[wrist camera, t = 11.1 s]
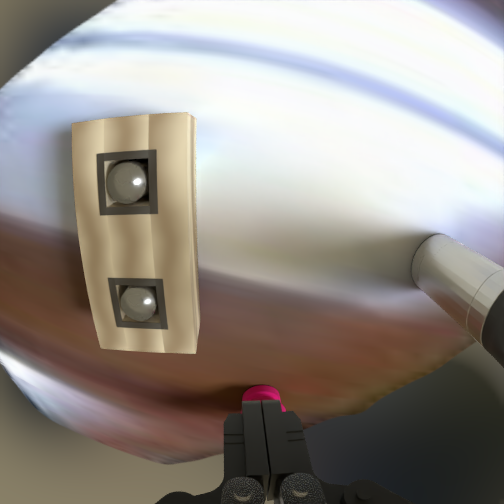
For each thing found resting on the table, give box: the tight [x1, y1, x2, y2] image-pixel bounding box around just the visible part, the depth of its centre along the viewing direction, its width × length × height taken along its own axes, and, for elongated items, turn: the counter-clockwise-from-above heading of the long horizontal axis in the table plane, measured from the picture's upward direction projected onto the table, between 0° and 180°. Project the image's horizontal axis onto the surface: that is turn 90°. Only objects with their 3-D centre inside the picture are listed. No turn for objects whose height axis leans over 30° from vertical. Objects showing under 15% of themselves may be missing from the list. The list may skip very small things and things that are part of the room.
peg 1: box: [107, 158, 149, 204], centre depth 31 cm, size 4×4×8 cm
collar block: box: [72, 112, 200, 354], centre depth 34 cm, size 12×26×8 cm, turn 179°
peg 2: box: [121, 285, 158, 321], centre depth 36 cm, size 4×4×8 cm
